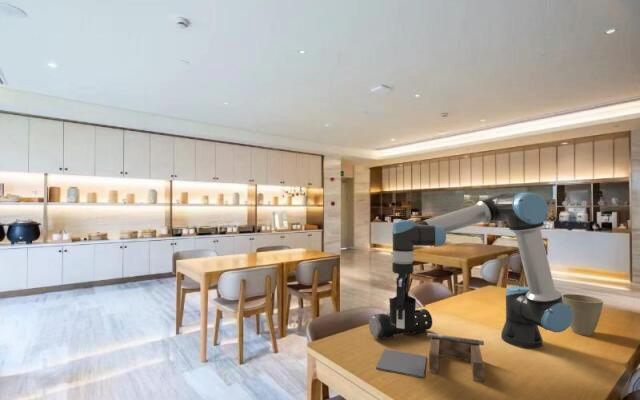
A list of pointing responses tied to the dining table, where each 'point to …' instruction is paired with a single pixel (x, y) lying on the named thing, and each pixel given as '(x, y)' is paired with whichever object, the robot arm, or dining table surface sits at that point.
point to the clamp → (456, 352)
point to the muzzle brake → (383, 328)
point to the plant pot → (584, 312)
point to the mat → (402, 363)
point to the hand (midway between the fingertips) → (402, 323)
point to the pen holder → (409, 312)
